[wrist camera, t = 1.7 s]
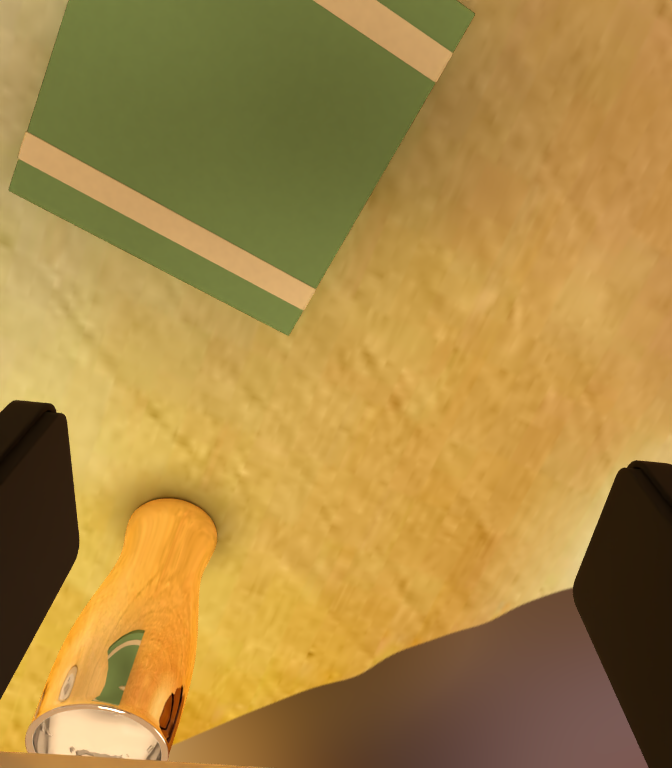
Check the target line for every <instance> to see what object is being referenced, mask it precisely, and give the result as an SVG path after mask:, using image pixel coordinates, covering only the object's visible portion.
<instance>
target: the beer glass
mask: <svg viewBox="0 0 672 768" xmlns="http://www.w3.org/2000/svg"><path fill="white" fill-rule="evenodd" d="M216 544H217V531H216V527H215V525H214V523H213V521H212V520H211V518H210V517H209V516H208V515H207V514H206V513H205V512H204V511H203V510H202V509H201V508H199V507H197V506H196V505H194V504H192V503H189V502H187V501H184V500H180V499H173V498H162V499H156V500H152V501H149V502H147V503H145V504H143V505H141V506H140V507H139V508H138V509H136V510H135V512H134V513H133V514H132V515H131V517H130V519H129V522H128V524H127V528H126V533H125V539H124V545H123V549H122V552H121V555H120V557H119V559H118V561H117V563H116V565H115V566H114V568H113V569H112V570H111V572H110V573H109V575H108V576H107V577H106V579H105V580H104V582H103V583H102V584H101V586H100V587H99V588H98V590H97V591H96V592H95V594H94V595H93V597H92V598H91V599H90V601H89V602H88V603H87V605H86V606H85V608H84V609H83V611H82V612H81V614H80V615H79V617H78V618H77V620H76V622H75V623H74V625H73V626H72V628H71V630H70V632H69V633H68V635H67V637H66V639H65V641H64V643H63V645H62V647H61V649H60V651H59V653H58V655H57V658H56V660H55V662H54V665H53V667H52V669H51V671H50V674H49V676H48V679H47V681H46V684H45V687H44V689H43V692H42V694H41V697H40V700H39V703H38V706H37V708H36V711H35V714H34V716H33V719H32V722H31V724H30V726H29V727H28V730H27V732H26V736H25V745H26V749H27V752H28V753H40V754H61V755H77V756H93V757H109V758H124V759H140V760H156V761H168V757H169V752H170V749H171V746H172V743H173V740H174V737H175V734H176V731H177V728H178V725H179V722H180V719H181V716H182V713H183V709H184V706H185V702H186V699H187V695H188V691H189V687H190V684H191V679H192V674H193V669H194V664H195V657H196V647H197V636H198V608H199V588H200V582H201V578H202V575H203V572H204V570H205V568H206V566H207V564H208V562H209V560H210V558H211V556H212V554H213V552H214V550H215V547H216Z"/></svg>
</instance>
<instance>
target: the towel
mask: <svg viewBox="0 0 672 768" xmlns="http://www.w3.org/2000/svg"><path fill="white" fill-rule="evenodd" d="M474 16H475V13H474V12H472V11H471V10H469V9H468V8H467V7H465V6H464V5H462V4H461V3H460V2H458V1H457V0H69V1H68V4H67V7H66V10H65V13H64V17H63V20H62V23H61V26H60V29H59V32H58V35H57V39H56V42H55V45H54V48H53V51H52V54H51V58H50V61H49V64H48V67H47V70H46V73H45V77H44V80H43V83H42V86H41V89H40V92H39V95H38V99H37V102H36V105H35V108H34V111H33V114H32V118H31V121H30V124H29V127H28V130H27V131H26V133H25V136H24V139H23V142H22V145H21V148H20V152H19V155H18V162H17V165H16V168H15V171H14V174H13V177H12V181H11V184H10V187H9V191H10V192H12V193H14V194H16V195H18V196H20V197H22V198H24V199H26V200H28V201H30V202H31V203H33V204H35V205H37V206H39V207H41V208H43V209H45V210H47V211H49V212H51V213H53V214H55V215H57V216H58V217H60V218H62V219H64V220H66V221H68V222H70V223H72V224H74V225H76V226H78V227H80V228H82V229H83V230H85V231H87V232H89V233H91V234H93V235H95V236H97V237H99V238H101V239H103V240H105V241H107V242H109V243H110V244H112V245H114V246H116V247H118V248H120V249H122V250H124V251H126V252H128V253H130V254H132V255H134V256H135V257H137V258H139V259H141V260H143V261H145V262H147V263H149V264H151V265H153V266H155V267H157V268H159V269H161V270H162V271H164V272H166V273H168V274H170V275H172V276H174V277H176V278H178V279H180V280H182V281H184V282H186V283H187V284H189V285H191V286H193V287H195V288H197V289H199V290H201V291H203V292H205V293H207V294H209V295H211V296H213V297H214V298H216V299H218V300H220V301H222V302H224V303H226V304H228V305H230V306H232V307H234V308H236V309H238V310H239V311H241V312H243V313H245V314H247V315H249V316H251V317H253V318H255V319H257V320H259V321H261V322H263V323H265V324H266V325H268V326H270V327H272V328H274V329H276V330H278V331H280V332H282V333H284V334H286V335H288V336H289V334H290V333H291V331H292V329H293V328H294V326H295V324H296V322H297V321H298V319H299V317H300V316H301V314H302V312H303V311H304V309H305V308H306V306H307V304H308V302H309V301H310V299H311V297H312V296H313V294H314V292H315V290H316V288H317V286H318V284H319V283H320V281H321V279H322V278H323V276H324V274H325V272H326V271H327V269H328V267H329V266H330V264H331V262H332V260H333V259H334V257H335V255H336V253H337V252H338V250H339V248H340V247H341V245H342V243H343V241H344V240H345V238H346V236H347V235H348V233H349V231H350V229H351V228H352V226H353V224H354V222H355V221H356V219H357V217H358V216H359V214H360V212H361V210H362V209H363V207H364V205H365V203H366V202H367V200H368V198H369V197H370V195H371V193H372V191H373V190H374V188H375V186H376V185H377V183H378V181H379V179H380V178H381V176H382V174H383V172H384V171H385V169H386V167H387V166H388V164H389V162H390V160H391V159H392V157H393V155H394V154H395V152H396V150H397V148H398V147H399V145H400V143H401V141H402V140H403V138H404V136H405V135H406V133H407V131H408V129H409V128H410V126H411V124H412V123H413V121H414V119H415V117H416V116H417V114H418V112H419V110H420V109H421V107H422V105H423V104H424V102H425V100H426V98H427V97H428V95H429V93H430V91H431V90H432V88H433V86H434V85H435V83H436V82H437V80H438V79H439V77H440V75H441V73H442V72H443V70H444V68H445V66H446V65H447V63H448V61H449V60H450V58H451V56H452V54H453V52H454V50H455V48H456V47H457V45H458V43H459V42H460V40H461V38H462V36H463V35H464V33H465V31H466V29H467V28H468V26H469V24H470V23H471V21H472V19H473V17H474Z"/></svg>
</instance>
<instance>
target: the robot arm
mask: <svg viewBox="0 0 672 768" xmlns="http://www.w3.org/2000/svg"><path fill="white" fill-rule="evenodd" d="M78 549H79V530H78V521H77V512H76V502H75V493H74V483H73V474H72V464H71V455H70V445H69V436H68V427H67V420H66V417H65V415H64V414H62V413H57V412H56V409H55V407H54V406H53V405H52V404H50V403H40V402H30V401H19V400H15V401H12V402H11V403H10V404H8V405H7V406H6V407H5V408H4V409H3V410H2V411H1V412H0V699H1V697H2V695H3V693H4V692H5V690H6V688H7V686H8V684H9V682H10V681H11V679H12V677H13V675H14V673H15V671H16V669H17V668H18V666H19V664H20V662H21V660H22V658H23V657H24V655H25V653H26V651H27V649H28V647H29V645H30V644H31V642H32V640H33V638H34V636H35V634H36V632H37V631H38V629H39V627H40V625H41V623H42V621H43V620H44V618H45V616H46V614H47V612H48V610H49V608H50V607H51V605H52V603H53V601H54V599H55V597H56V596H57V594H58V592H59V590H60V588H61V586H62V584H63V583H64V581H65V579H66V577H67V575H68V573H69V571H70V570H71V568H72V566H73V564H74V562H75V560H76V557H77V554H78ZM573 597H574V602H575V605H576V607H577V609H578V612H579V614H580V616H581V618H582V620H583V623H584V625H585V627H586V629H587V632H588V634H589V636H590V638H591V640H592V643H593V644H594V647H595V649H596V652H597V654H598V656H599V658H600V660H601V663H602V665H603V667H604V669H605V672H606V674H607V676H608V678H609V680H610V682H611V685H612V687H613V689H614V692H615V694H616V696H617V698H618V700H619V703H620V705H621V707H622V709H623V711H624V714H625V716H626V718H627V720H628V723H629V725H630V727H631V729H632V732H633V734H634V736H635V738H636V740H637V743H638V745H639V747H640V749H641V751H642V754H643V756H644V758H645V760H646V762H647V765H648V767H649V768H672V465H671V464H667V463H658V462H648V461H637V460H636V461H633V462H631V463H630V464H629V465H628V467H627V468H622V469H620V470H619V471H618V473H617V475H616V477H615V480H614V483H613V485H612V488H611V490H610V493H609V495H608V498H607V500H606V503H605V505H604V508H603V510H602V513H601V515H600V518H599V520H598V523H597V526H596V528H595V531H594V533H593V536H592V538H591V541H590V543H589V546H588V548H587V551H586V553H585V556H584V558H583V561H582V564H581V566H580V569H579V571H578V574H577V576H576V579H575V581H574V585H573ZM0 768H265V767H249V766H235V765H234V766H233V765H219V764H203V763H187V762H172V761H156V760H140V759H124V758H109V757H93V756H77V755H61V754H40V753H18V752H0Z"/></svg>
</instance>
